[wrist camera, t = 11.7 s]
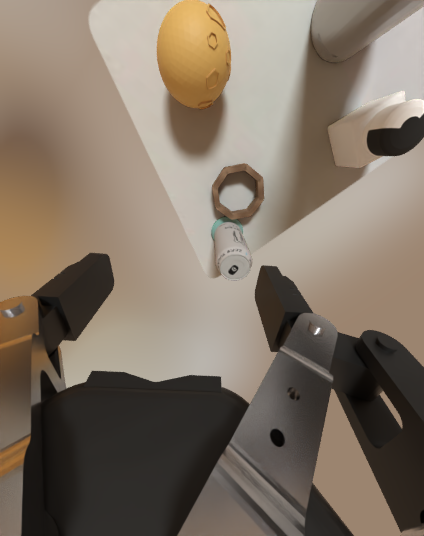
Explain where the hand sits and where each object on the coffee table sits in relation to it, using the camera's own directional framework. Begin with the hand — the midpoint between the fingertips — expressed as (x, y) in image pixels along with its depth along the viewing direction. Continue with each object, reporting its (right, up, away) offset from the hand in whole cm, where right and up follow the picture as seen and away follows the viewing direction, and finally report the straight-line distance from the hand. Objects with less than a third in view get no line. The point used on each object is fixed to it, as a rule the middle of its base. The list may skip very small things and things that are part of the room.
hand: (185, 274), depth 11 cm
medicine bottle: (+26, +24, +25) cm, 43 cm away
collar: (+7, +16, +29) cm, 34 cm away
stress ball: (-1, +31, +21) cm, 37 cm away
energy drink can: (+5, +8, +33) cm, 35 cm away
